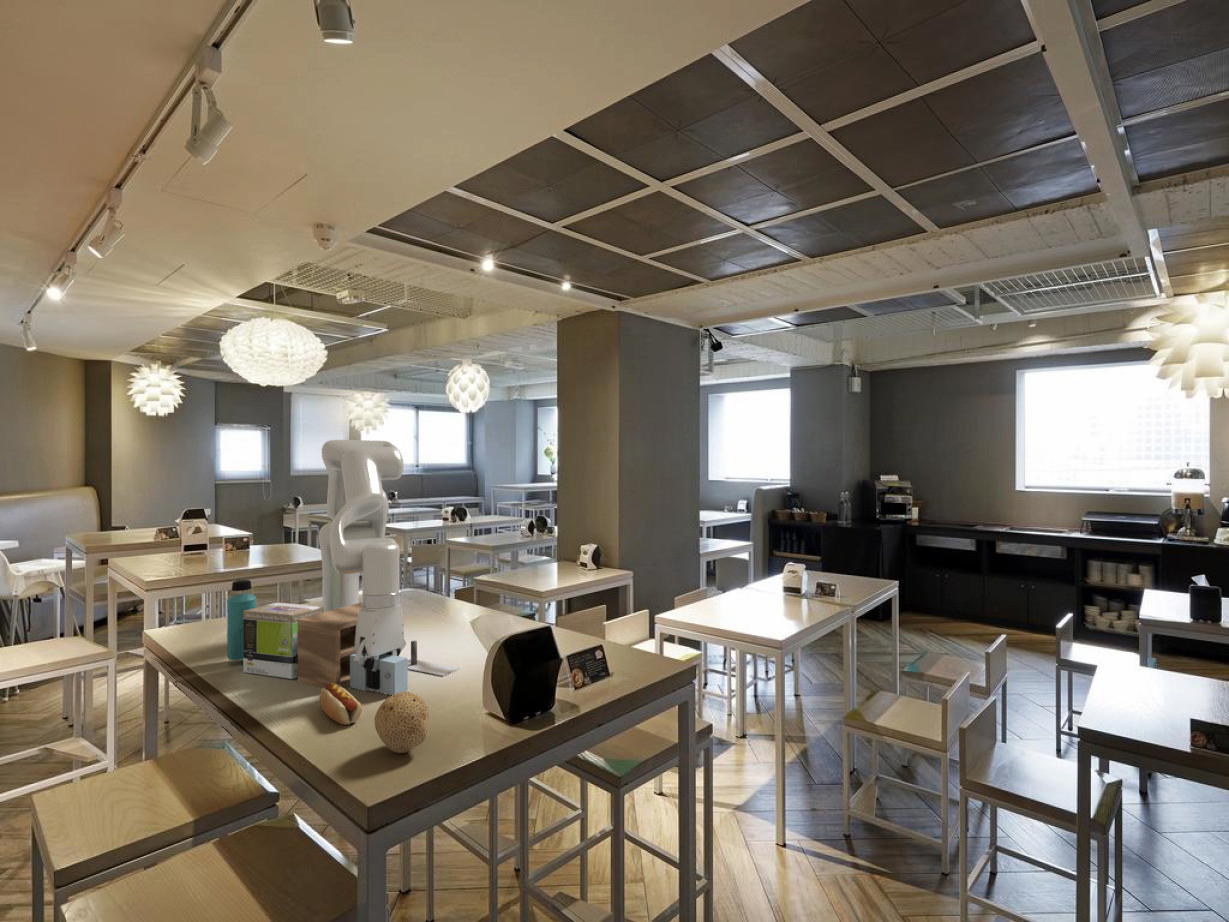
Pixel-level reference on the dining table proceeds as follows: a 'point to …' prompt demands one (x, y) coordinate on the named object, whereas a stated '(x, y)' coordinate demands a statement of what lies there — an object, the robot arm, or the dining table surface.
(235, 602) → the beverage bottle
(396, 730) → the natural sponge
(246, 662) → the tea box
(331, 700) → the food
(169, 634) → the dining table surface
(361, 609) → the robot arm
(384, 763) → the dining table surface
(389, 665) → the blue box with dot
